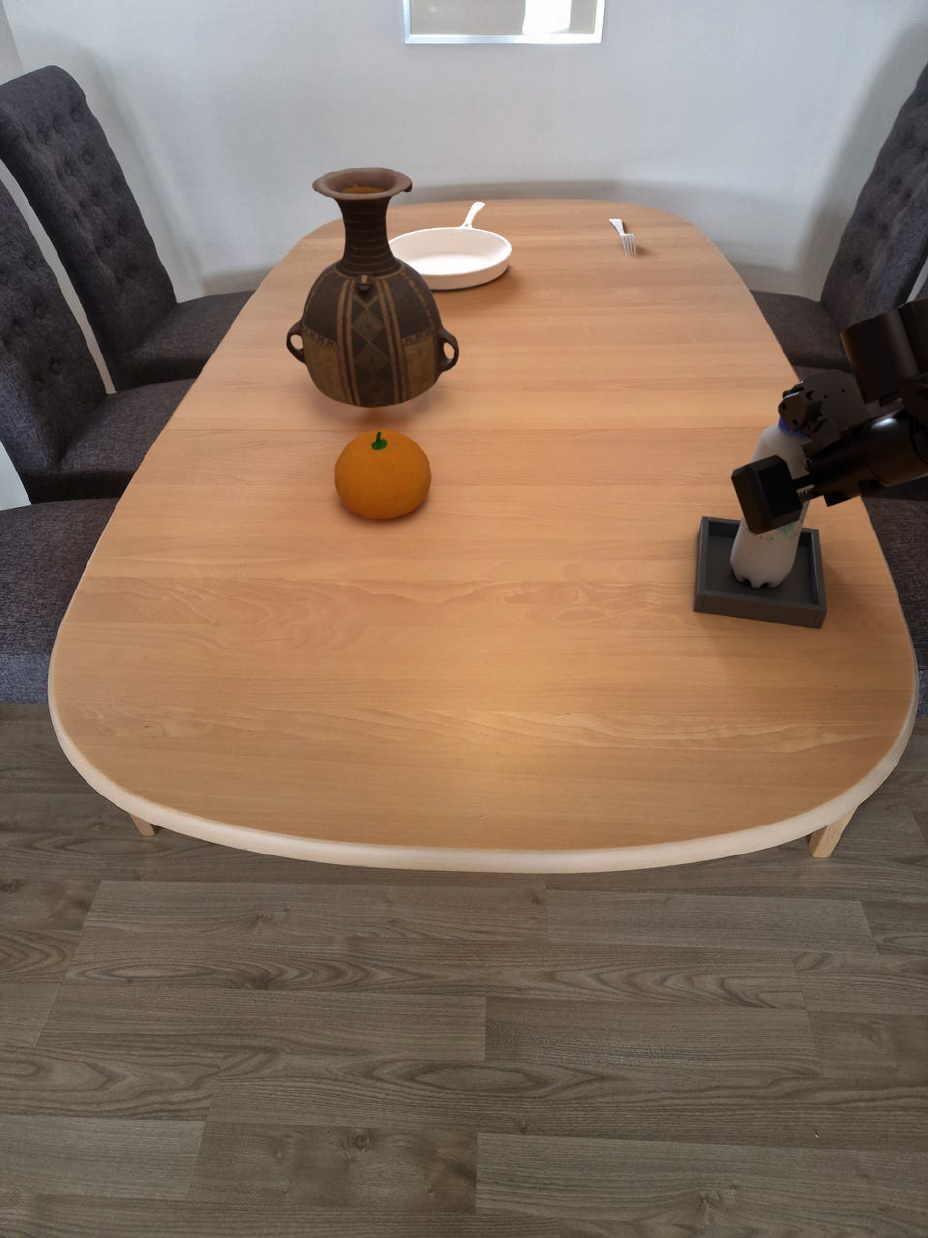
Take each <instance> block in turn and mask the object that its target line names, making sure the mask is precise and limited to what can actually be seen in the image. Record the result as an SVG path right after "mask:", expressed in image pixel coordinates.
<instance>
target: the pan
mask: <svg viewBox="0 0 928 1238" xmlns="http://www.w3.org/2000/svg"><path fill="white" fill-rule="evenodd" d="M485 206H486V204H485V203H484V202H480V201H479V202H475V203H473V205H472V206H471V208H470V210H469V212H468V214H467V216H466V217H465V221H464V222H463V224H461V225H459V226H456V227H453V226H451V227H436V228H426V229H420V230H416V231H412V232H407V233H405V234H401V235H399V236H397V237H394V238H393V239H391V240H388V242H389V246H390V249H391V251H392V253H393V255H394V256H395V257H396V258H398V259H400V260H402V261H403V262H405V263H407V264H408V265H410V266H411V267H413V268H414V269H415V270H416V271H418V272H419V274H420V275H421V276H422V277H423V279H424V280H425V282H426V283H427V285H428V286H429V288H430V290H431V291H436V292H437V291H438V292H439V291H440V292H443V291H445V292H446V291H457V290H465V289H470V288H476V287H479V286H482V285H485V284H487V283H490V282H493V281H494V280H495V279H497V278H498V277H500V276H501V275H503V274H504V273H505V271H506V270H507V268H508V265H509V262H510V260H511V259H510V258H511V254H512V252H513V248H512V244H511V243H510V241H509V240H507V239H506V238H505V237H503V236H501V235H499V234H497V233H495V232H491V231H487V230H483V229H477V228H474V227H473V226H472V225H473V222H474V220H475V218H476V216H477V214H478V213H479V212H480V211H481V210H482V209H483V208H484V207H485Z"/></svg>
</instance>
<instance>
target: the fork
mask: <svg viewBox="0 0 928 1238" xmlns="http://www.w3.org/2000/svg"><path fill="white" fill-rule="evenodd" d="M609 221H610V223H611V224H613V226H614V227H615V228H616V230H617V231H618V233H619V236H620V237H621V241H622V244H623V248H624V252H625V256H626V257H628V256H629V257H630V256H632V257H633V256H635V257H636V256H637V254H636V253H637V252H636V250H637V249H636V236H635V234H634V233H625V230H624V226H623V220H622V219H621V218H610V219H609ZM633 252H634V254H633Z"/></svg>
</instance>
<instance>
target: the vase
mask: <svg viewBox="0 0 928 1238" xmlns="http://www.w3.org/2000/svg"><path fill="white" fill-rule="evenodd" d="M311 189H313V190H314V192H316V193H319V194H320V195H323V196H324V197H326V198H331V199H333V200H334V201H335V202H336V204H337V205H338V208H339V210H340V213H341V216H342V217H341V218H342V221H343V226H344V247H343V255H342V257H341V258H340V259H338V260H336V261H335V262H333V263H331V264H330V265H327V266H326V268H324V269H323V270H322V271H321V272H320V274H319V275H318V276H317V278H316V279H315V280H314V282H313V283H312V285H311V287H310V289H309V292H308V293H307V297H306V299H305V302H304V306H303V310H302V311H303V312H302V316H301V318H300V319H299V320H297V321H296V322H295V323H294V324H293V325H292V326H291V327H290V328H289V329H288V331H287V335H286V340H285V341H286V342H285V345H286V349H287V351H288V352H289V353H290V354H291V355H292V356H293V357H294V358H295V359H296V360H297V361H298V362H300V363H302V364H304V365H305V367H306V369H307V371H308V374H309V377H310V379H311V380H312V382H313V384H314V385H315V387H316V388H317V390H318V391H319V392H320V393H322V394H323V395H324V396H325V397H327V398H329V400H332V401H335V402H338V403H341V404H345V405H348V406H353V407H357V408H365V409H373V408H374V409H375V408H385V407H391V406H392V407H393V406H397V405H399V404H404V403H406V402H409V401H412V400H413V399H416V398H417V397H419V396H421V395H422V394H425V392H427V391H429V390H430V389H431V388H432V387H433V386H435V384H436V383H437V382H438V380H439V379H440V376H442V374H443V373H445V372H448V371H451V369H453V368H454V367H455V366H456V365H457V363H458V360H459V357H460V347H459V343H458V340H457V338H456V336H455V335H453V334H452V333H450V332H449V331H448V330H447V329H446V328H445V326H444V324H443V322H442V318H441V314H440V310H439V306H438V304H437V301H436V299H435V296H434V294H433V292H432V290H430V288H429V286H428V285H427V283H426V282H425V280H424V279H423V277H422V276H421V275H420V274H419V272H418V271H416V270H415V269H414V268H413V267H411V266H410V265H408V264H407V263H405V262H403V261H402V260H400V259H398V258H396V257H395V256H394V255H393V253H392V251H391V249H390V246H389V238H388V231H387V227H388V226H387V212H388V208H389V204H390V201H391V199H392V198H393V197H394V196H396V195H399V194H400V193H402V192H403V193H411V192H412V191H413V181H412V179H411V178H410V177H409V176H408V175H406V174H405V173H403V172H400V171H397V170H394V169H391V168H385V167H380V166H378V167H377V166H375V167H374V166H369V167H368V166H367V167H366V166H365V167H347V168H345V169H340V170H335V171H329V172H327V173H325V174H323V175H322V176H319V177H318V178H316V179H315V180H314V181H313V182H312V183H311ZM293 336H298V337H300V339H301V342H302V347H301V348H297V347H296V346H294V344H293V342H292V337H293ZM445 344H448V345H449V346H451V348H452V349H453V357H451V358H450V357H448V356H447V354H446V352H445Z"/></svg>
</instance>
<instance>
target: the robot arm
mask: <svg viewBox="0 0 928 1238" xmlns="http://www.w3.org/2000/svg"><path fill="white" fill-rule="evenodd" d="M839 336H840V339H841V342H842V345H843V347H844V350H845V353H846V356H847V360H848V362H849V365H850V368H851V371H852V373H853V377H854V379H855V382H856V386H857V387H855V385H854V384H853V382H852V381H851V380H850V378H849V377H848V376H847V374H846V373H845V372H843V371H842V370H840V369H837V368H831V369H828V370H825V371H822V372H818V373H814V374H811V375H808V376H805V377H804V378H803V379H802V380H801V381H800V383H797V384H794V385H793V386H792V387H791V388H790V389H785V390H783V392H782V394H781V397H782V399H781V401H780V402H779V404H778V406H777V412H778V415H779V417H780V416H781V417H782V419H783V420H784V422H785V423H786V425H787V426H788V428H789V429H790V430H791V431H798V430H802V431H803V432H804V434H805V435H806V436H807V437H808V438H810V439H812V441H809V442H807V443H805V444H802V445H801V446H802V449H803V452H804V455H805V457H806V458H809V457H810V459H808V460H806V461H804V463H803V464H804V467H805V470H806V471H807V472H808V471H809V474H807V475H804V476H801V477H799V478H796V479H792V476H791V473H790V470H789V468H788V465H787V462H786V461H785V460H784V459H782V458H781V457H779V456H778V455H773V456H770V457H767V458H764V459H761V460H758V461H755V462H752V463H751V462H750V463H747V464H744V465H742V466H739V467H737V468H735V469H733V470H732V472H731V475H730V481H731V483H732V486H733V488H734V492H735V495H736V498H737V500H738V503H739V506H740V509H741V512H742V514H743V515H744V518H745V520H746V523H747V526H748V529H749V531H750V532H752V533H753V534H755V535H759V534H762V533H766V532H769V531H772V530H774V529H777V528H780V527H783V526H785V525H788V524H791V523H793V522H796V521H799V519H800V516H801V512H802V510H803V508H804V503H805V502H807V501H809V500H810V501H811V500H815V499H818V498H820V497H823V499H824V502H825V505H826V507H827V508H830V507H833V506H836V505H839V504H842V503H845V502H848V501H849V500H852V499H855V498H859V497H862V498H863V497H866V496H869V495H873V494H875V493H878V492H880V491H883V490H885V489H889V488H891V487H894V486H897V485H901V484H904V483H906V482H907V483H908V482H911V481H913V480H917V479H920V478H923V477H927V476H928V296H924V297H920V298H917V299H914V300H910V301H906V302H904V303H903V304H901V305H899V306H898V307H895V308H892V309H891V310H888V311H885V312H883V313H881V314H879V315H876V316H874V317H872V318H868V319H865V320H861V321H858V322H856V323H854V324H852V325H850V326H849V327H847V328H846V329H844V330H843V331H842V332H841V333H840V334H839ZM857 388H858V389H857ZM876 401H877V402H878V406H879V408H883V407H887V406H890V405H892V404H895V403H898V402H900V401H901V402H902V405H903V407H902V408H900V409H897V410H894V411H892V412H890V413H886V412H885V413H882V414H879V415H876V416H872V414H871V413H870V411H869V409H868V407H867V405H869V404H871V403H873V402H876ZM810 485H813V486H814V487H813V488H810V489H807V490H804V491H801V492H799V493H797V491H796V490H799V489H802V488H804V487H807V486H810Z"/></svg>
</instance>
